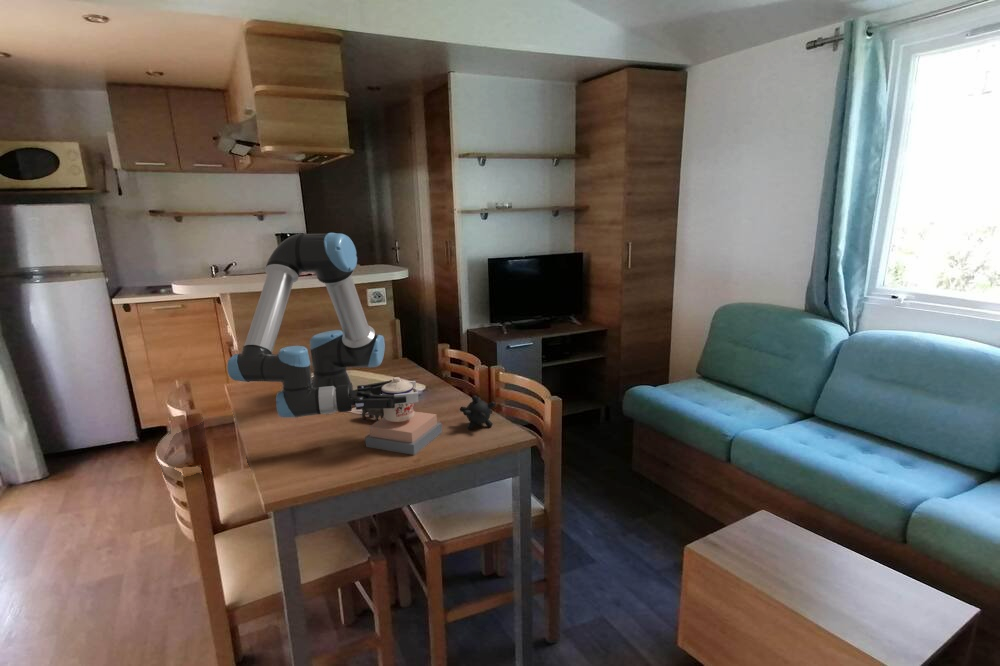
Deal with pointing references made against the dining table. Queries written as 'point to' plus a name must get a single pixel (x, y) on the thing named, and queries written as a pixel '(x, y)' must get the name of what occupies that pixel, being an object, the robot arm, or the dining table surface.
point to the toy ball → (478, 412)
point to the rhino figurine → (373, 413)
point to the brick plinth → (404, 444)
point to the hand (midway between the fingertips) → (416, 391)
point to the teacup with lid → (400, 410)
